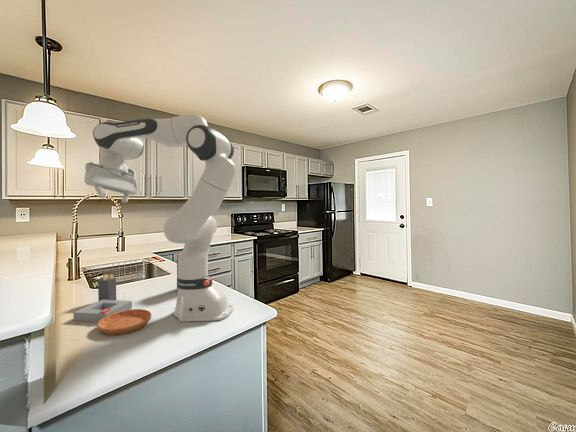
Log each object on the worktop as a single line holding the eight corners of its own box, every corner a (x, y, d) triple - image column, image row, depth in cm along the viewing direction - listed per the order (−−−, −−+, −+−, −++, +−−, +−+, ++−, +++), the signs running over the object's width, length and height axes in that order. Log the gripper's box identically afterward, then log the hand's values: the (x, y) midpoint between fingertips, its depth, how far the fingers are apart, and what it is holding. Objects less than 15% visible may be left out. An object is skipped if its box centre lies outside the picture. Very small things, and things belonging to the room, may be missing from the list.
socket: (132, 308, 105) (131, 299, 105) (106, 322, 93) (106, 312, 92) (102, 306, 107) (102, 297, 107) (73, 320, 94) (73, 310, 94)
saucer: (157, 327, 90) (157, 318, 90) (101, 343, 79) (101, 333, 79) (144, 312, 102) (144, 305, 101) (94, 325, 91) (94, 317, 91)
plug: (116, 300, 114) (115, 273, 114) (108, 303, 110) (107, 276, 110) (106, 299, 115) (106, 273, 114) (98, 303, 110) (98, 276, 110)
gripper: (91, 157, 98) (91, 191, 94) (139, 173, 116) (141, 202, 113) (80, 163, 100) (80, 196, 96) (129, 178, 118) (131, 206, 115)
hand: (113, 200), depth 105 cm, fingers open, 8 cm apart
